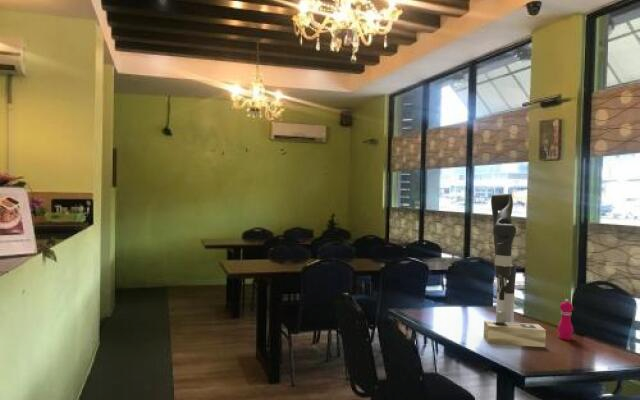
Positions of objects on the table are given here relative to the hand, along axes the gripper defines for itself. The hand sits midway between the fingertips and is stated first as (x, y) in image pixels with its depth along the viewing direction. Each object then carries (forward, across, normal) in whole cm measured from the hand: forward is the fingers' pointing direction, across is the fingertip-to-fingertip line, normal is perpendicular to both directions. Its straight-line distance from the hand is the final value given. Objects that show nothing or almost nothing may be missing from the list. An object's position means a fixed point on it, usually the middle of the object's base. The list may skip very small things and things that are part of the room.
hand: (501, 299), depth 248 cm
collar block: (+20, 0, +6) cm, 21 cm away
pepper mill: (+20, -15, +36) cm, 43 cm away
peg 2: (+20, 0, +13) cm, 24 cm away
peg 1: (+14, 0, 0) cm, 14 cm away
